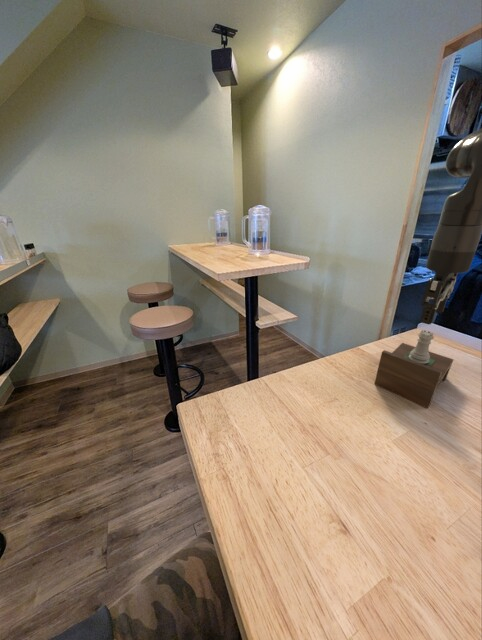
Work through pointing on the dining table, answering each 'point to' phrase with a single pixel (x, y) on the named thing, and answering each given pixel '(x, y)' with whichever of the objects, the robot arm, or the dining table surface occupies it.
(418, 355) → the rook chess piece
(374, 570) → the dining table surface
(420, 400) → the wooden stand
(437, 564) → the dining table surface
